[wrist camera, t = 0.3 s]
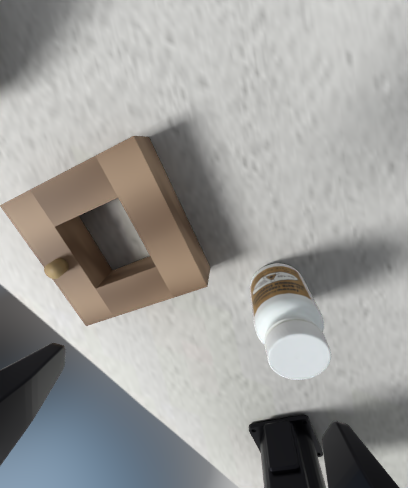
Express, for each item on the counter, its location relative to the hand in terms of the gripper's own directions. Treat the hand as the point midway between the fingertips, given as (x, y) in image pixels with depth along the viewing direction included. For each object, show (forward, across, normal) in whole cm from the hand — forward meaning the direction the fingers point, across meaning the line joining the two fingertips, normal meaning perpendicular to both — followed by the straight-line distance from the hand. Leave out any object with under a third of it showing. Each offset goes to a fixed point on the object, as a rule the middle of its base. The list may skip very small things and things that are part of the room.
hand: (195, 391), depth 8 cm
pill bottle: (+13, -6, +2) cm, 15 cm away
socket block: (+13, +8, +1) cm, 15 cm away
